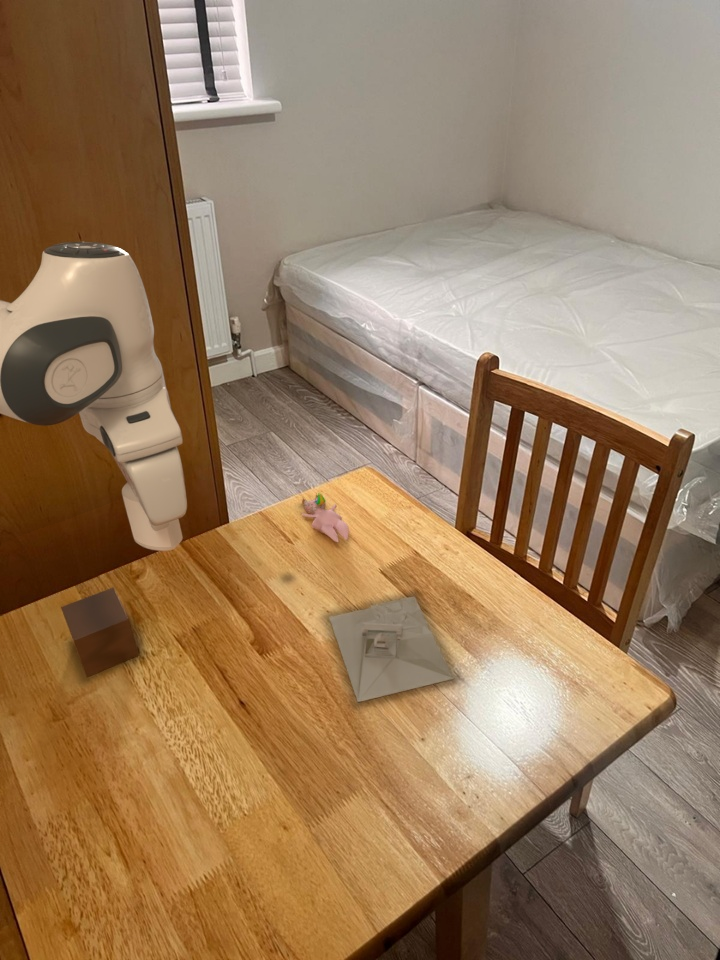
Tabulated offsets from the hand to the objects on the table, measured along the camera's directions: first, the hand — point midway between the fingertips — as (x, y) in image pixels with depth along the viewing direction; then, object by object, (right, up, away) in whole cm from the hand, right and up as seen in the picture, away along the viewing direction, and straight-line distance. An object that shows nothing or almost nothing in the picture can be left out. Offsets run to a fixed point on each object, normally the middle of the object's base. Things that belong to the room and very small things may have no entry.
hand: (150, 510), depth 82 cm
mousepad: (+24, -17, +20) cm, 36 cm away
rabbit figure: (+18, -5, +38) cm, 42 cm away
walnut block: (-11, -20, +17) cm, 28 cm away
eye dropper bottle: (0, -4, +3) cm, 5 cm away
